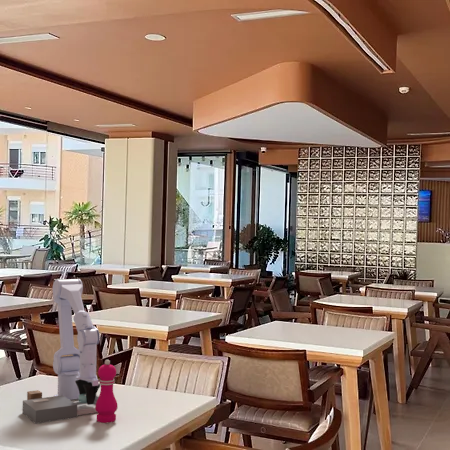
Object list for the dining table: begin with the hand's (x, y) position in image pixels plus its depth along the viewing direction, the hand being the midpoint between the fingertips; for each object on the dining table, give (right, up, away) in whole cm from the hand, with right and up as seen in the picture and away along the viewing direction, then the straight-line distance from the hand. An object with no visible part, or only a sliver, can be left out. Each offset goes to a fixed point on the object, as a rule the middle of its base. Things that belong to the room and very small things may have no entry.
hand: (87, 402), depth 228 cm
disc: (0, 0, 0) cm, 1 cm away
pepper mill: (+9, -3, -12) cm, 15 cm away
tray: (-1, -2, -1) cm, 3 cm away
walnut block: (-19, -2, +3) cm, 20 cm away
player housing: (-11, -2, -7) cm, 14 cm away
